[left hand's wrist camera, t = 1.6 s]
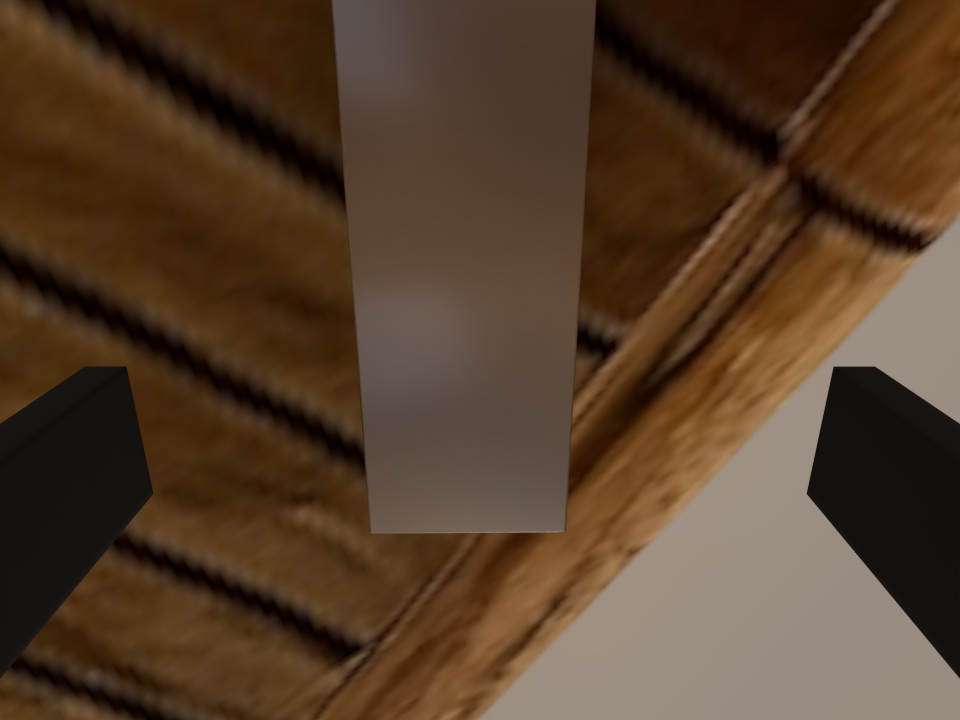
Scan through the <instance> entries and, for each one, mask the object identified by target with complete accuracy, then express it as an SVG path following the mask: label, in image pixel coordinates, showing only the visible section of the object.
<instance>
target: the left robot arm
mask: <svg viewBox="0 0 960 720" xmlns="http://www.w3.org/2000/svg"><path fill="white" fill-rule="evenodd" d="M152 495H153V490H152V485H151V481H150V476H149V471H148V467H147V462H146V457H145V452H144V448H143V443H142V438H141V434H140V429H139V424H138V419H137V415H136V410H135V405H134V401H133V396H132V391H131V386H130V382H129V377H128V372H127V368H126V367H84V368H82V369H81V370H79V371H78V372H76V373H75V374H73V375H72V376H70V377H69V378H67V379H66V380H64V381H63V382H62V383H60V384H59V385H57V386H56V387H54V388H53V389H51V390H50V391H48V392H47V393H45V394H44V395H42V396H41V397H39V398H38V399H36V400H35V401H33V402H32V403H30V404H29V405H27V406H26V407H25V408H23V409H22V410H20V411H19V412H17V413H16V414H14V415H13V416H11V417H10V418H8V419H7V420H5V421H4V422H2V423H1V424H0V678H1V677H2V676H3V674H4V673H5V672H6V671H7V670H8V668H9V667H10V666H11V665H12V664H13V662H14V661H15V660H16V659H17V658H18V656H19V655H20V654H21V653H22V652H23V650H24V649H25V648H26V647H27V645H28V644H29V643H30V642H31V641H32V639H33V638H34V637H35V636H36V635H37V633H38V632H39V631H40V630H41V629H42V627H43V626H44V625H45V624H46V623H47V621H48V620H49V619H50V618H51V617H52V615H53V614H54V613H55V612H56V611H57V609H58V608H59V607H60V606H61V604H62V603H63V602H64V601H65V600H66V598H67V597H68V596H69V595H70V594H71V592H72V591H73V590H74V589H75V588H76V586H77V585H78V584H79V583H80V582H81V580H82V579H83V578H84V577H85V576H86V574H87V573H88V572H89V571H90V570H91V568H92V567H93V566H94V565H95V563H96V562H97V561H98V560H99V559H100V557H101V556H102V555H103V554H104V553H105V551H106V550H107V549H108V548H109V547H110V545H111V544H112V543H113V542H114V541H115V539H116V538H117V537H118V536H119V535H120V533H121V532H122V531H123V530H124V529H125V527H126V526H127V525H128V524H129V522H130V521H131V520H132V519H133V518H134V516H135V515H136V514H137V513H138V512H139V510H140V509H141V508H142V507H143V506H144V504H145V503H146V502H147V501H148V500H149V498H150V497H151V496H152ZM807 495H808V496H809V497H810V498H811V500H812V501H813V502H814V503H815V504H816V506H817V507H818V508H819V509H820V510H821V512H822V513H823V514H824V515H825V516H826V518H827V519H828V520H829V521H830V522H831V524H832V525H833V526H834V527H835V528H836V530H837V531H838V532H839V533H840V535H841V536H842V537H843V538H844V539H845V541H846V542H847V543H848V544H849V545H850V547H851V548H852V549H853V550H854V551H855V553H856V554H857V555H858V556H859V557H860V559H861V560H862V561H863V562H864V563H865V565H866V566H867V567H868V568H869V569H870V571H871V572H872V573H873V574H874V575H875V577H876V578H877V579H878V580H879V582H880V583H881V584H882V585H883V586H884V588H885V589H886V590H887V591H888V592H889V594H890V595H891V596H892V597H893V598H894V600H895V601H896V602H897V603H898V604H899V606H900V607H901V608H902V609H903V610H904V612H905V613H906V614H907V615H908V617H909V618H910V619H911V620H912V621H913V623H914V624H915V625H916V626H917V627H918V628H919V630H920V631H921V632H922V633H923V635H924V636H925V637H926V638H927V639H928V641H929V642H930V643H931V644H932V645H933V647H934V648H935V649H936V650H937V652H938V653H939V654H940V655H941V656H942V657H943V659H944V660H945V661H946V662H947V664H948V665H949V666H950V667H951V668H952V670H953V671H954V672H955V673H956V674H957V676H958V677H959V678H960V424H959V423H958V422H956V421H955V420H953V419H952V418H950V417H949V416H947V415H946V414H944V413H943V412H941V411H940V410H938V409H937V408H935V407H934V406H933V405H931V404H930V403H928V402H927V401H925V400H924V399H922V398H921V397H919V396H918V395H916V394H915V393H913V392H912V391H910V390H909V389H907V388H906V387H904V386H903V385H901V384H900V383H898V382H897V381H896V380H894V379H893V378H891V377H890V376H888V375H887V374H885V373H884V372H882V371H881V370H879V369H878V368H876V367H834V368H833V372H832V377H831V382H830V387H829V391H828V396H827V401H826V405H825V410H824V415H823V419H822V424H821V429H820V434H819V438H818V443H817V448H816V452H815V457H814V462H813V467H812V471H811V476H810V481H809V485H808V490H807Z"/></svg>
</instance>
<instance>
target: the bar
mask: <svg viewBox="0 0 960 720" xmlns="http://www.w3.org/2000/svg"><path fill="white" fill-rule="evenodd" d="M331 11H332V24H333V38H334V51H335V65H336V78H337V92H338V105H339V119H340V133H341V146H342V160H343V173H344V187H345V200H346V214H347V227H348V241H349V254H350V268H351V281H352V295H353V308H354V322H355V335H356V349H357V362H358V376H359V389H360V403H361V416H362V430H363V443H364V457H365V470H366V484H367V497H368V511H369V524H370V533H372V534H387V533H551V532H565V531H566V520H567V502H568V485H569V468H570V450H571V433H572V415H573V398H574V381H575V363H576V346H577V328H578V311H579V294H580V276H581V259H582V241H583V224H584V207H585V189H586V172H587V154H588V137H589V120H590V102H591V85H592V68H593V50H594V33H595V15H596V0H331Z"/></svg>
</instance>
